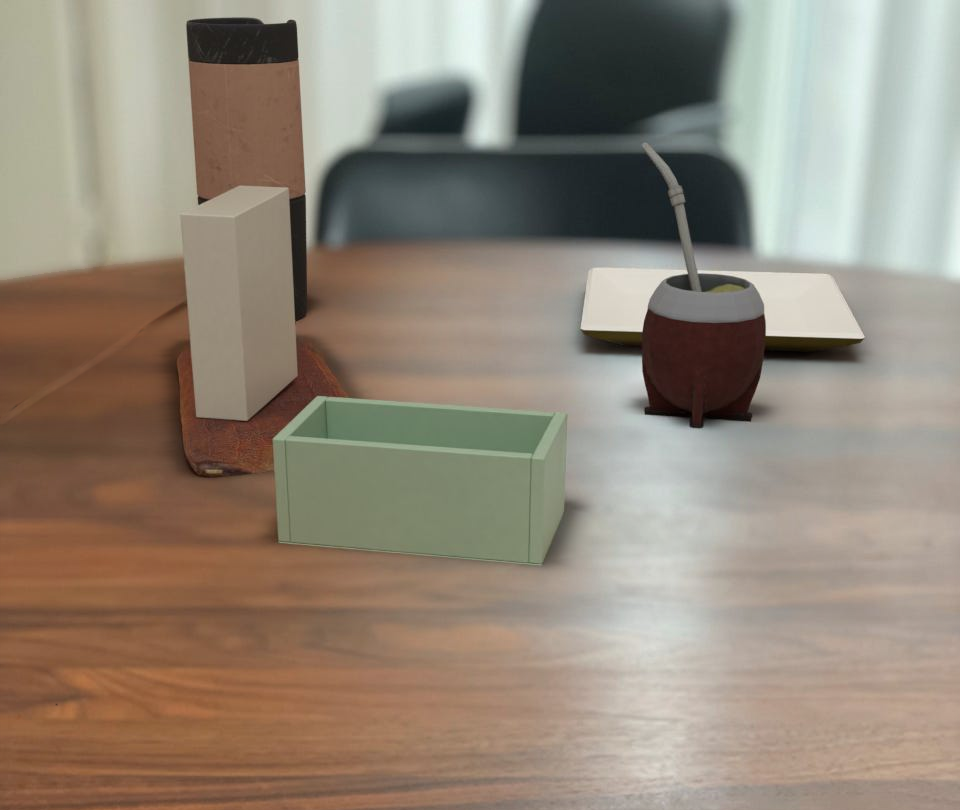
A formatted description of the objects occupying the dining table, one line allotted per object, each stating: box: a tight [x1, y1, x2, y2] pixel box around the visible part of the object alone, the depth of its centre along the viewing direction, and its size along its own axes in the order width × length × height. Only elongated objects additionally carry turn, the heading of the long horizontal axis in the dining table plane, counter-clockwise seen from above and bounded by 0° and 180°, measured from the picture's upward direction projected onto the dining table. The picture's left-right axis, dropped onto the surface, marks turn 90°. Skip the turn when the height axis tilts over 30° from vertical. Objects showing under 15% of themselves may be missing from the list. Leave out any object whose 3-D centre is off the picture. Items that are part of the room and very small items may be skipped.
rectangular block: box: [179, 186, 298, 421], centre depth 84 cm, size 9×3×11 cm, turn 168°
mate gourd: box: [641, 141, 766, 429], centre depth 85 cm, size 8×8×15 cm
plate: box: [580, 267, 866, 353], centre depth 107 cm, size 19×19×2 cm
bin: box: [273, 396, 568, 566], centre depth 70 cm, size 12×7×6 cm, turn 78°
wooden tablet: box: [176, 337, 349, 478], centre depth 89 cm, size 27×10×2 cm, turn 12°
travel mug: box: [185, 16, 308, 321], centre depth 106 cm, size 8×8×20 cm
